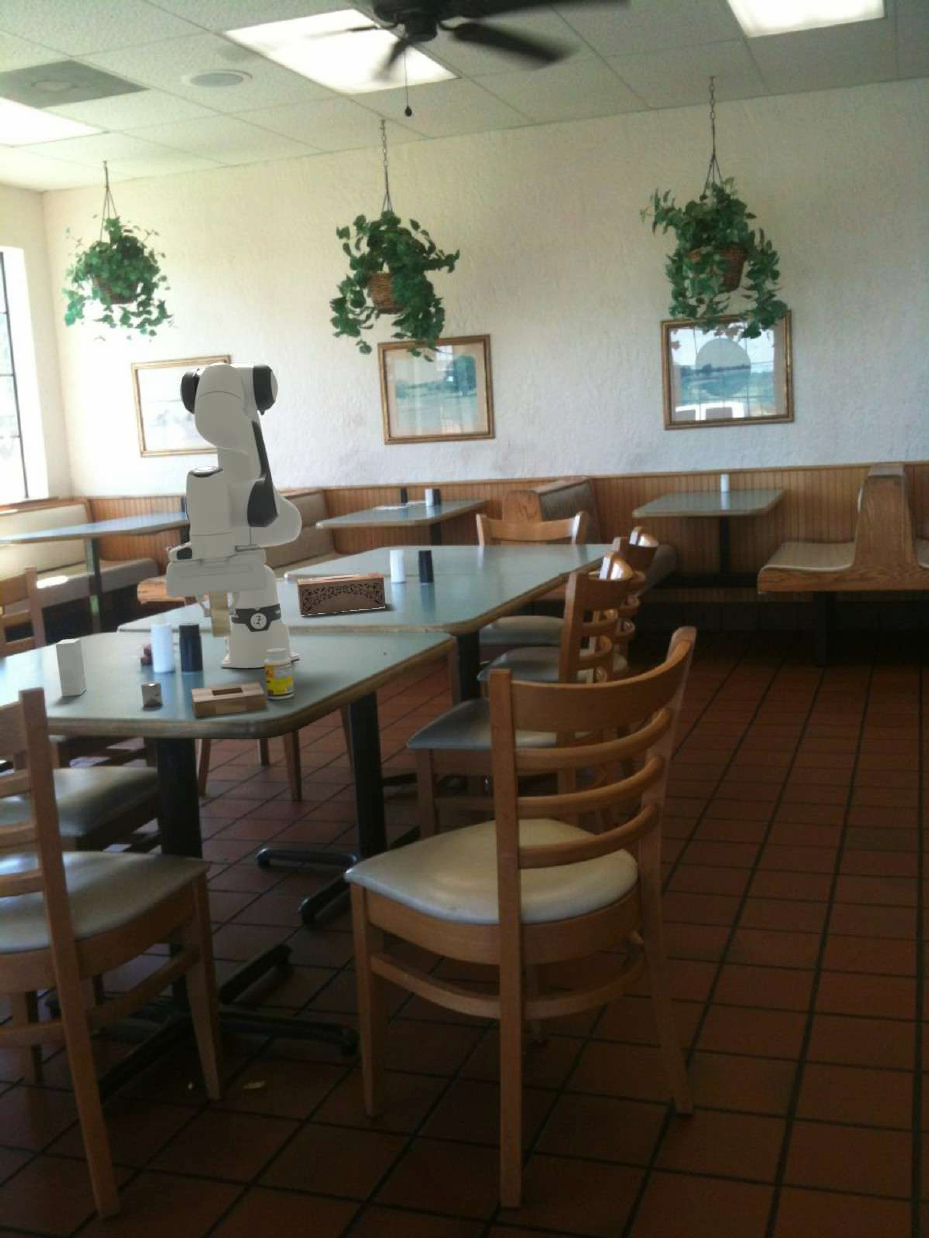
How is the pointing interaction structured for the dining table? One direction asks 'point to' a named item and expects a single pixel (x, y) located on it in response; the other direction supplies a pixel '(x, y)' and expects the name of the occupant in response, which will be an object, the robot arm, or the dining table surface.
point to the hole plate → (228, 699)
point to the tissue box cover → (341, 593)
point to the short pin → (152, 694)
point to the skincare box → (71, 667)
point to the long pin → (219, 613)
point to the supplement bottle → (278, 674)
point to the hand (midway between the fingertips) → (219, 615)
